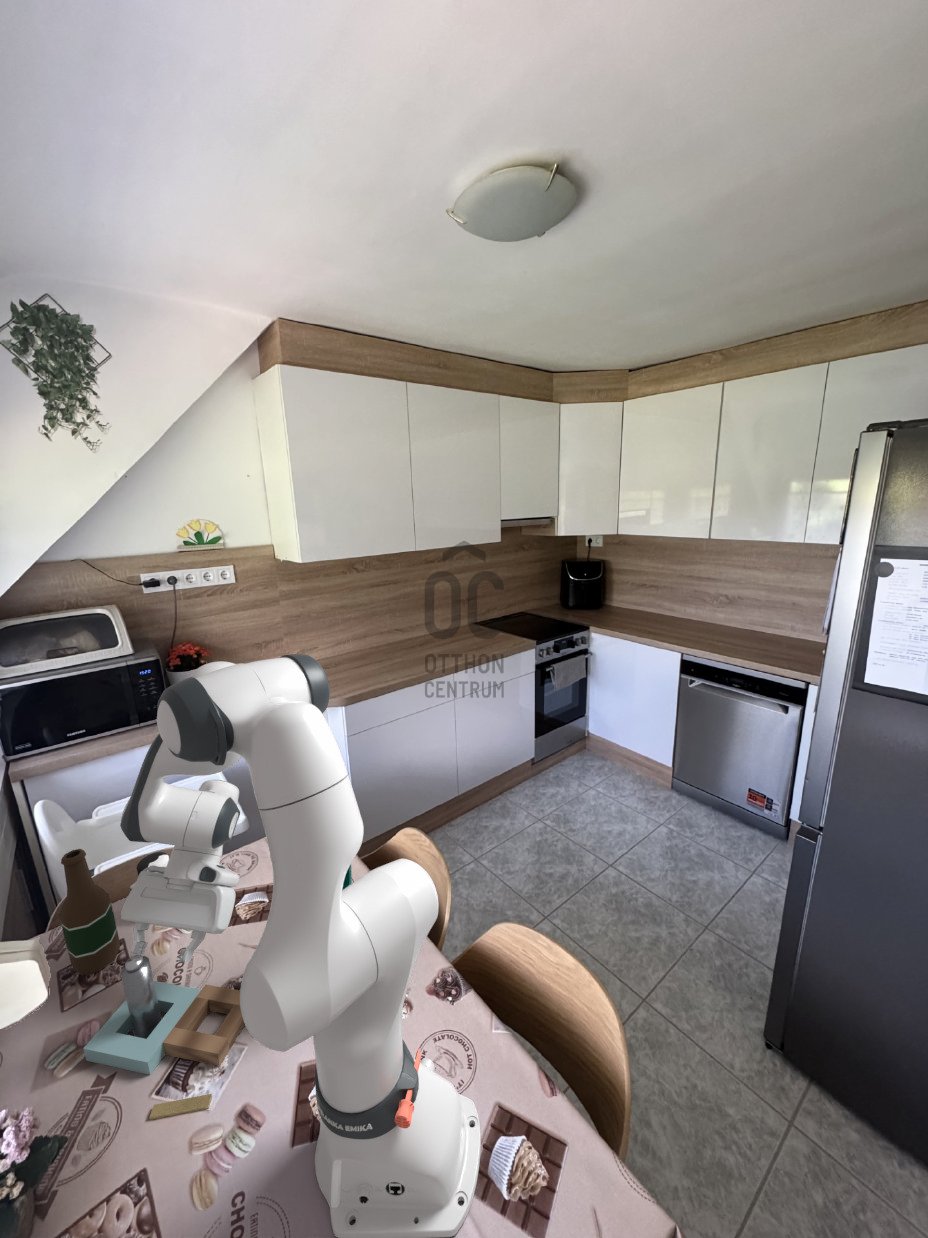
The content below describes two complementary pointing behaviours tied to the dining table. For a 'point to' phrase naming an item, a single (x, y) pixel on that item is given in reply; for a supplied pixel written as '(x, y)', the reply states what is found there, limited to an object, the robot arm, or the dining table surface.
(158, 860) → the medicine bottle
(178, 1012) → the block
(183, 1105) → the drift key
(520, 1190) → the dining table surface
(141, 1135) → the dining table surface
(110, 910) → the beer bottle
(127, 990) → the silver metal cylinder
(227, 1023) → the socket block
